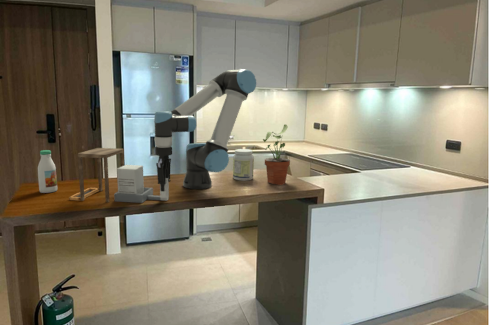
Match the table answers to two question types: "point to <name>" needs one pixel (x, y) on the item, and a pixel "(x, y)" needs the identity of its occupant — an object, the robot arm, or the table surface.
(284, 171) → the potted plant
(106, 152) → the tunnel
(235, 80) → the robot arm
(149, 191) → the cradle
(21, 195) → the table surface
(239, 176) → the supplement tub
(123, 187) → the supplement box
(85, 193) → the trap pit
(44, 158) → the milk bottle
